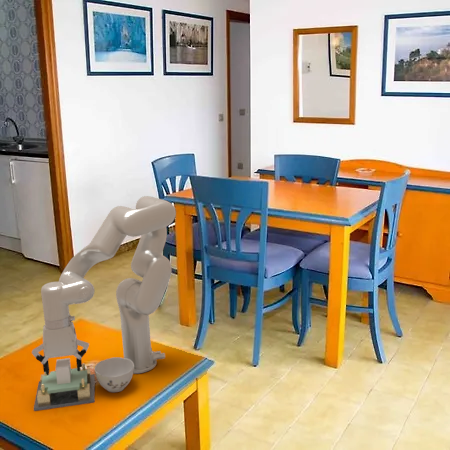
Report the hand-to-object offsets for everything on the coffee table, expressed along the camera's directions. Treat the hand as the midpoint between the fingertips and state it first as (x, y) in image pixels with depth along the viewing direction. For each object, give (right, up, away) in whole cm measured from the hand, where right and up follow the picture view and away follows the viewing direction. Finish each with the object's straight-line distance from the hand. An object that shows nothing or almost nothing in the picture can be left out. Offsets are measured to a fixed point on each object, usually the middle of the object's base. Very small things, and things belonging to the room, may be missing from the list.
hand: (63, 371), depth 179 cm
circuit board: (0, -4, +1) cm, 4 cm away
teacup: (+16, -6, +5) cm, 18 cm away
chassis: (0, -8, +2) cm, 8 cm away
